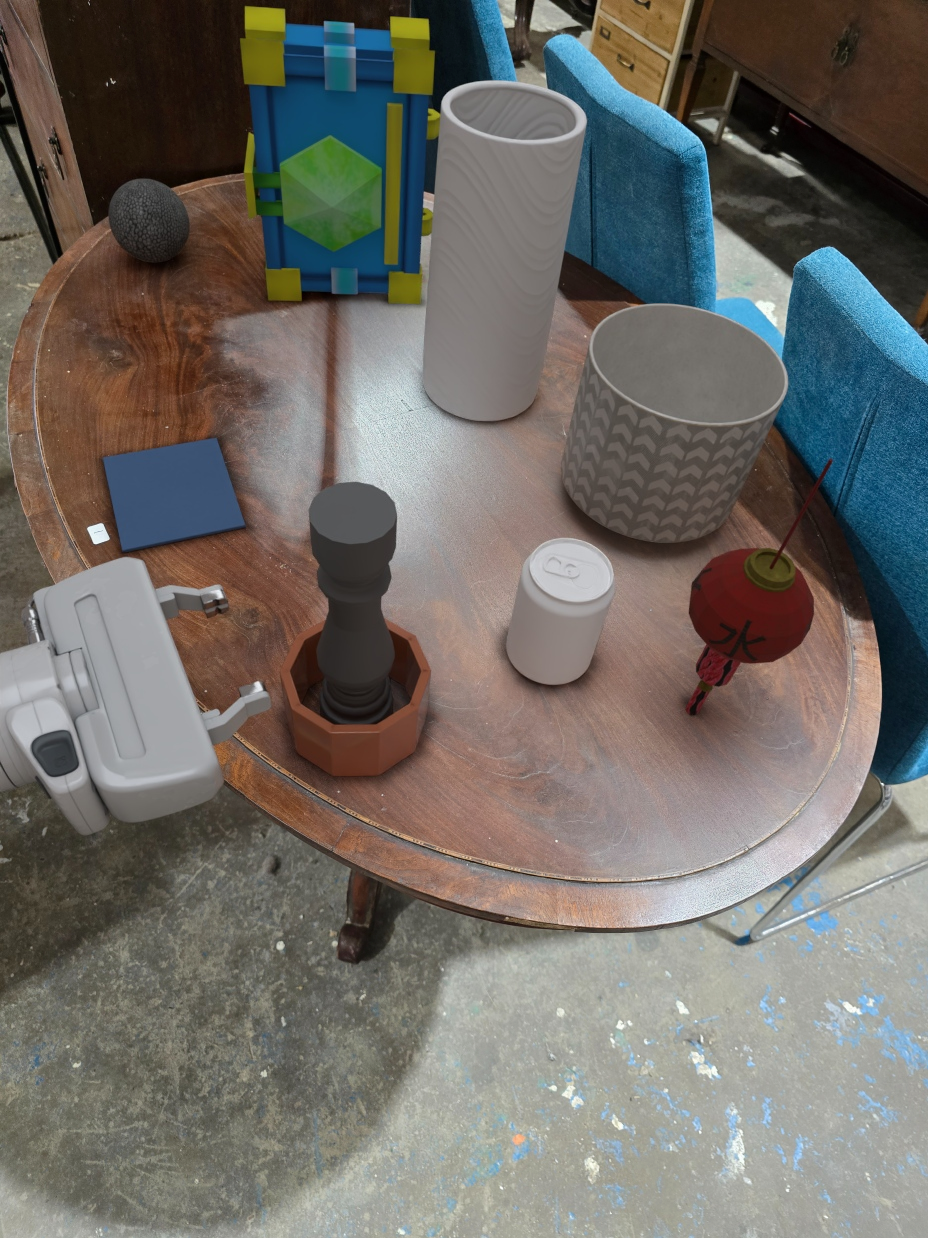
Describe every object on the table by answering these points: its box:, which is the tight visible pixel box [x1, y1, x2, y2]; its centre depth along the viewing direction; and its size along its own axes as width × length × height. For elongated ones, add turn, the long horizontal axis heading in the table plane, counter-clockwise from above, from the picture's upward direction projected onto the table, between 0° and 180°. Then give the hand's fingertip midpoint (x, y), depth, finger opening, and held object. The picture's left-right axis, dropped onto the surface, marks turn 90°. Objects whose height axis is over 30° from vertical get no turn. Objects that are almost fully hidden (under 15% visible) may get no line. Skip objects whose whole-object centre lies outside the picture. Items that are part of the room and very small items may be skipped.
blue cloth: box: [102, 437, 246, 554], centre depth 89 cm, size 12×14×1 cm
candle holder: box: [308, 481, 398, 725], centre depth 65 cm, size 6×6×25 cm
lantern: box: [685, 458, 834, 717], centre depth 67 cm, size 10×10×30 cm
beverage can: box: [505, 537, 617, 686], centre depth 76 cm, size 8×8×12 cm
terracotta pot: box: [279, 617, 432, 777], centre depth 72 cm, size 12×12×7 cm
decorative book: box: [239, 5, 441, 305], centre depth 105 cm, size 14×23×30 cm, turn 96°
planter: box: [560, 303, 789, 544], centre depth 88 cm, size 19×19×18 cm
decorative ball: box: [107, 178, 191, 263], centre depth 113 cm, size 10×10×10 cm
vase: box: [422, 79, 588, 422], centre depth 93 cm, size 14×14×32 cm
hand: (246, 643), depth 62 cm, fingers open, 8 cm apart
